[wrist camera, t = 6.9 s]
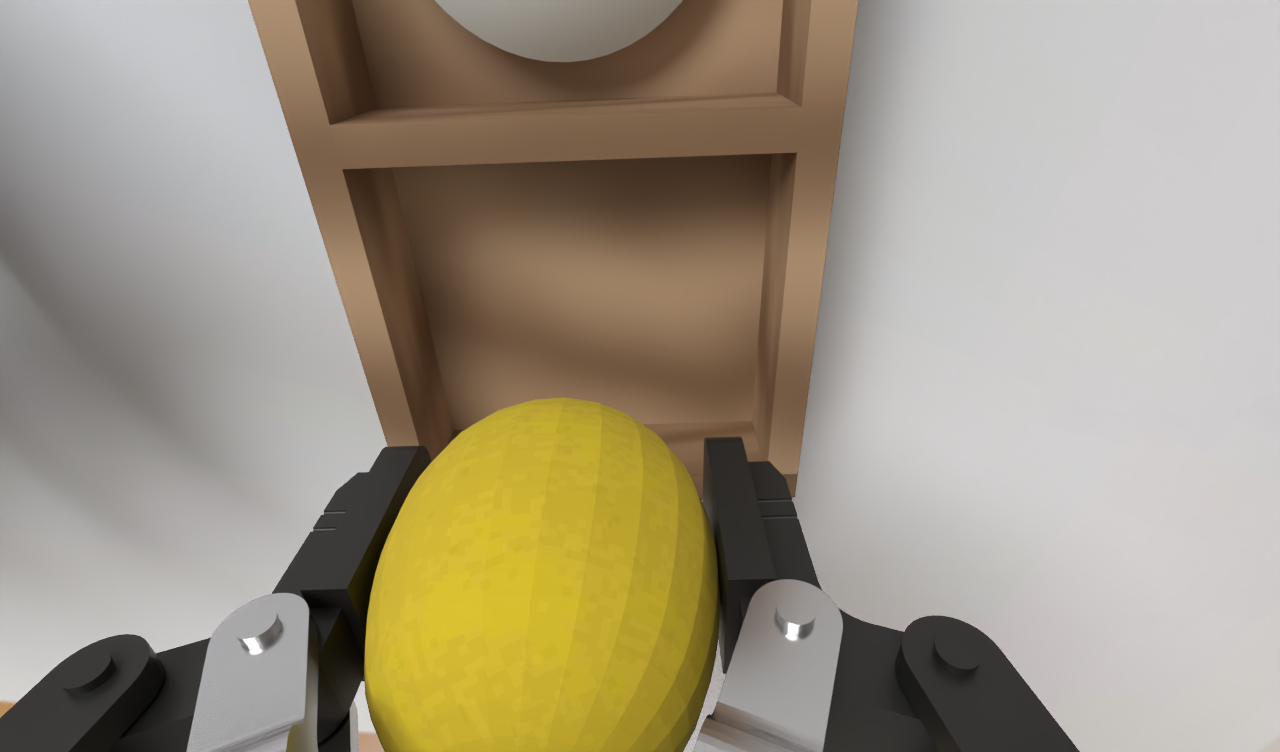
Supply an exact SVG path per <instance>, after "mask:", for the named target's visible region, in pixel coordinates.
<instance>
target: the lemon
mask: <svg viewBox="0 0 1280 752" xmlns="http://www.w3.org/2000/svg"><path fill="white" fill-rule="evenodd" d="M719 622H720V591H719V579H718V567H717V556H716V547H715V541H714V536H713V531H712V528H711V524H710V521H709V518H708V515H707V512H706V510H705V508H704V505H703V503H702V501H701V498H700V496H699V494H698V492H697V489H696V487H695V485H694V483H693V481H692V478H691V476H690V474H689V473H688V471H687V469H686V467H685V466H684V464H683V463H682V462H681V461H680V460H679V458H678V457H677V456H676V455H675V454H674V453H673V452H672V450H671V449H670V448H669V447H668V446H667V445H666V444H665V442H664V441H663V440H662V439H661V438H660V437H659V436H658V435H657V434H656V433H655V432H653V431H652V430H650V429H649V428H647V427H646V426H644V425H643V424H641V423H640V422H638V421H637V420H635V419H634V418H632V417H631V416H629V415H628V414H626V413H624V412H622V411H619V410H616V409H614V408H611V407H609V406H606V405H603V404H601V403H598V402H592V401H586V400H580V399H573V398H550V399H535V400H532V401H528V402H525V403H521V404H517V405H514V406H510V407H507V408H504V409H501V410H498V411H496V412H494V413H493V414H491V415H489V416H487V417H486V418H484V419H482V420H480V421H479V422H477V423H475V424H473V425H472V426H470V427H469V428H467V429H465V430H464V431H462V432H461V433H460V434H459V435H458V436H457V437H456V438H455V439H454V440H452V441H451V442H450V444H449V445H448V446H447V447H446V448H445V449H444V450H443V451H442V452H441V453H440V454H439V455H438V456H437V457H436V458H435V459H434V460H433V461H432V462H431V463H430V464H429V465H428V467H427V468H426V469H425V470H424V472H423V473H422V474H421V475H420V476H419V478H418V479H417V481H416V483H415V484H414V486H413V487H412V489H411V490H410V492H409V494H408V496H407V498H406V500H405V502H404V504H403V506H402V507H401V510H400V512H399V514H398V516H397V518H396V520H395V522H394V524H393V527H392V529H391V531H390V533H389V535H388V538H387V540H386V543H385V545H384V548H383V550H382V553H381V556H380V559H379V562H378V566H377V569H376V572H375V576H374V581H373V586H372V590H371V595H370V602H369V608H368V615H367V626H366V641H365V661H364V678H365V695H366V700H367V704H368V708H369V713H370V717H371V720H372V723H373V725H374V728H375V730H376V733H377V735H378V738H379V740H380V742H381V745H382V747H383V749H384V751H385V752H683V750H684V749H685V747H686V745H687V743H688V741H689V739H690V737H691V735H692V734H693V732H694V730H695V728H696V725H697V722H698V719H699V716H700V713H701V710H702V707H703V704H704V700H705V697H706V694H707V691H708V687H709V684H710V681H711V676H712V672H713V667H714V662H715V657H716V650H717V643H718V635H719Z"/></svg>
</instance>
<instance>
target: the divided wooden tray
mask: <svg viewBox="0 0 1280 752" xmlns="http://www.w3.org/2000/svg"><path fill="white" fill-rule="evenodd" d="M248 2H249V5H250V9H251V12H252V15H253V18H254V21H255V25H256V28H257V31H258V34H259V37H260V40H261V44H262V47H263V50H264V53H265V56H266V60H267V63H268V66H269V69H270V72H271V76H272V79H273V82H274V85H275V88H276V91H277V95H278V98H279V101H280V104H281V107H282V111H283V114H284V117H285V120H286V123H287V127H288V130H289V133H290V136H291V139H292V142H293V146H294V149H295V152H296V155H297V158H298V162H299V165H300V168H301V171H302V174H303V178H304V181H305V184H306V187H307V190H308V193H309V197H310V200H311V203H312V206H313V209H314V213H315V216H316V219H317V222H318V225H319V229H320V232H321V235H322V238H323V241H324V244H325V248H326V251H327V254H328V257H329V260H330V264H331V267H332V270H333V273H334V276H335V280H336V283H337V286H338V289H339V292H340V295H341V299H342V302H343V305H344V308H345V311H346V315H347V318H348V321H349V324H350V327H351V331H352V334H353V337H354V340H355V343H356V346H357V350H358V353H359V356H360V359H361V362H362V366H363V369H364V372H365V375H366V378H367V382H368V385H369V388H370V391H371V394H372V398H373V401H374V404H375V407H376V410H377V413H378V417H379V420H380V423H381V426H382V429H383V433H384V436H385V439H386V442H387V445H388V447H392V446H425V447H426V448H427V450H428V452H429V454H430V458H431V462H432V461H433V460H434V459H435V458H436V457H437V456H438V455H439V454H440V453H441V452H442V451H443V450H444V449H445V448H446V447H447V446H448V445H449V444H450V442H451V441H452V440H454V439H455V438H456V437H457V436H458V435H459V434H460V433H461V432H462V431H464V430H465V429H467V428H469V427H470V426H472V425H473V424H475V423H477V422H479V421H480V420H482V419H484V418H486V417H487V416H489V415H491V414H493V413H494V412H496V411H498V410H501V409H504V408H507V407H510V406H514V405H517V404H521V403H525V402H528V401H532V400H535V399H550V398H573V399H580V400H586V401H592V402H598V403H601V404H603V405H606V406H609V407H611V408H614V409H616V410H619V411H622V412H624V413H626V414H628V415H629V416H631V417H632V418H634V419H635V420H637V421H638V422H640V423H641V424H643V425H644V426H646V427H647V428H649V429H650V430H652V431H653V432H655V433H656V434H657V435H658V436H659V437H660V438H661V439H662V440H663V441H664V442H665V444H666V445H667V446H668V447H669V448H670V449H671V450H672V452H673V453H674V454H675V455H676V456H677V457H678V458H679V460H680V461H681V462H682V463H683V464H684V466H685V467H686V469H687V471H688V473H689V474H690V476H691V478H692V481H693V483H694V485H695V487H696V489H697V492H698V494H699V496H700V498H701V500H703V459H704V439H705V438H706V437H738V436H741V437H742V440H743V443H744V448H745V452H746V456H747V460H748V462H755V461H770V462H771V463H772V464H773V466H774V467H775V468H776V469H777V470H778V471H779V472H780V473H781V474H782V475H783V476H784V477H785V478H786V482H787V485H788V488H789V491H790V494H791V497H795V491H796V483H797V475H798V467H799V460H800V452H801V444H802V436H803V428H804V421H805V413H806V405H807V397H808V390H809V382H810V374H811V366H812V358H813V351H814V343H815V335H816V327H817V319H818V312H819V304H820V296H821V288H822V281H823V273H824V265H825V257H826V249H827V242H828V234H829V226H830V218H831V211H832V203H833V195H834V187H835V179H836V172H837V164H838V156H839V148H840V140H841V133H842V125H843V117H844V109H845V102H846V94H847V86H848V78H849V70H850V63H851V55H852V47H853V39H854V32H855V24H856V16H857V8H858V0H683V1H682V2H681V3H680V4H679V5H678V6H677V8H676V9H675V10H674V11H673V12H672V13H671V14H670V15H669V16H668V17H667V18H666V19H665V20H664V21H663V22H662V23H661V24H659V25H658V26H657V27H656V28H655V29H653V30H652V31H651V32H650V33H648V34H647V35H646V36H644V37H642V38H641V39H639V40H637V41H636V42H634V43H633V44H631V45H629V46H627V47H625V48H623V49H620V50H618V51H616V52H614V53H611V54H609V55H605V56H601V57H598V58H594V59H590V60H584V61H575V62H546V61H541V60H535V59H530V58H525V57H522V56H519V55H516V54H513V53H510V52H507V51H504V50H502V49H500V48H498V47H496V46H494V45H492V44H490V43H488V42H486V41H484V40H482V39H481V38H479V37H478V36H476V35H475V34H473V33H472V32H470V31H469V30H467V29H465V28H464V27H463V26H462V25H461V24H459V23H458V22H457V21H456V20H455V19H453V18H452V17H451V16H450V15H449V14H447V13H446V12H445V11H444V10H443V9H442V8H441V6H440V5H439V4H438V3H437V2H436V1H435V0H248Z"/></svg>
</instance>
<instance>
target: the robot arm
mask: <svg viewBox="0 0 1280 752" xmlns="http://www.w3.org/2000/svg"><path fill="white" fill-rule="evenodd" d="M430 463H431V458H430V454H429V452H428V450H427V448H426V447H425V446H392V447H385V448H384V449H382V451H381V452H380V454H379V456H378V457H377V459H376V461H375V463H374V464H373V466H372V468H371V469H370V471H369V472H365V473H357V474H356V475H355V476H354V477H352V478H351V479H350V480H349V481H348V482H346V483H345V484H344V485H343V486H342V487H340V488H339V489H338V490H337V491H336V493H335V494H334V496H333V497H332V499H331V500H330V502H329V504H328V505H327V507H326V508H325V510H324V515H321V516H320V518H319V519H318V521H317V523H316V524H315V526H314V527H313V529H314V530H313V532H310V534H309V535H308V537H307V538H306V540H305V542H304V543H303V545H302V546H301V548H300V550H299V551H298V553H297V554H296V556H295V558H294V559H293V561H292V562H291V564H290V565H289V567H288V569H287V570H286V572H285V573H284V575H283V577H282V578H281V580H280V581H279V583H278V584H277V586H276V588H275V589H274V591H273V592H272V594H270V595H266V596H263V597H260V598H257V599H255V600H253V601H251V602H249V603H247V604H245V605H243V606H242V607H240V608H238V609H237V610H236V611H234V612H233V613H232V614H230V615H229V616H228V617H227V618H226V619H225V620H224V621H223V622H222V623H221V624H220V625H219V626H218V628H217V629H216V631H215V632H214V633H213V635H212V637H211V638H208V639H205V640H202V641H198V642H195V643H191V644H188V645H184V646H181V647H177V648H174V649H170V650H167V651H163V652H160V653H156V654H155V652H154V651H153V649H152V648H151V647H150V645H149V644H148V643H147V641H146V640H145V639H144V638H142V637H140V636H137V635H129V634H126V635H117V636H112V637H108V638H105V639H102V640H99V641H97V642H95V643H92V644H90V645H88V646H86V647H84V648H82V649H80V650H79V651H77V652H76V653H74V654H72V655H71V656H69V657H68V658H67V659H65V660H64V661H62V662H61V663H60V664H59V665H58V666H56V667H55V668H54V669H53V670H52V671H51V672H50V673H48V674H47V675H46V676H45V677H44V678H43V679H42V680H41V681H40V682H39V683H38V684H37V685H35V686H34V687H33V688H32V689H31V690H30V691H29V692H28V693H27V694H26V695H25V696H24V697H23V698H21V699H20V700H19V701H18V702H17V703H16V704H15V705H14V706H13V707H12V708H11V709H10V710H9V711H7V712H6V713H5V714H4V715H3V716H2V717H1V718H0V752H359V740H358V713H357V708H356V705H355V703H354V701H353V700H354V697H355V695H356V692H357V690H358V688H359V685H360V683H361V681H365V678H364V661H365V641H366V626H367V615H368V608H369V602H370V595H371V590H372V586H373V581H374V576H375V572H376V569H377V566H378V562H379V559H380V556H381V553H382V550H383V548H384V545H385V543H386V540H387V538H388V535H389V533H390V531H391V529H392V527H393V524H394V522H395V520H396V518H397V516H398V514H399V512H400V510H401V507H402V506H403V504H404V502H405V500H406V498H407V496H408V494H409V492H410V490H411V489H412V487H413V486H414V484H415V483H416V481H417V479H418V478H419V476H420V475H421V474H422V473H423V472H424V470H425V469H426V468H427V467H428V465H429V464H430ZM703 505H704V508H705V510H706V512H707V515H708V518H709V521H710V524H711V528H712V531H713V536H714V541H715V547H716V556H717V567H718V579H719V591H720V622H719V635H718V637H719V645H720V653H721V661H722V669H723V674H726V677H725V680H724V683H723V686H722V689H721V692H720V695H719V698H718V701H717V704H716V707H715V709H714V712H713V714H712V715H710V714H709V715H708V716H707V717H706V719H705V721H704V723H703V725H702V727H701V730H700V733H699V735H698V738H697V741H696V744H695V747H694V750H693V752H1080V751H1079V750H1078V749H1077V748H1076V746H1075V745H1074V744H1073V742H1072V741H1071V740H1070V739H1069V737H1068V736H1067V735H1066V733H1065V732H1064V731H1063V730H1062V728H1061V727H1060V726H1059V724H1058V723H1057V722H1056V721H1055V719H1054V718H1053V717H1052V715H1051V714H1050V713H1049V712H1048V710H1047V709H1046V708H1045V706H1044V705H1043V704H1042V703H1041V701H1040V700H1039V699H1038V697H1037V696H1036V695H1035V694H1034V692H1033V691H1032V690H1031V688H1030V687H1029V686H1028V685H1027V683H1026V682H1025V681H1024V679H1023V678H1022V677H1021V676H1020V674H1019V673H1018V672H1017V670H1016V669H1015V668H1014V667H1013V665H1012V664H1011V663H1010V661H1009V660H1008V659H1007V658H1006V656H1005V655H1004V654H1003V652H1002V651H1001V650H1000V649H999V647H998V646H997V645H996V644H995V643H994V642H993V641H992V640H991V639H990V638H989V637H988V636H987V635H985V634H984V633H983V632H981V631H980V630H978V629H977V628H975V627H973V626H972V625H970V624H968V623H965V622H963V621H961V620H958V619H954V618H951V617H946V616H926V617H922V618H919V619H917V620H915V621H913V622H912V623H911V624H910V625H909V626H908V627H907V628H906V630H905V632H902V631H898V630H894V629H890V628H886V627H882V626H878V625H874V624H870V623H867V622H864V621H861V620H859V619H856V618H854V617H852V616H850V615H848V614H847V613H845V612H843V611H842V610H841V609H839V608H838V607H837V605H836V604H835V602H834V601H833V600H832V599H831V598H830V597H829V596H828V595H827V594H826V593H825V592H823V591H822V589H821V587H820V585H819V582H818V580H817V577H816V573H815V570H814V567H813V564H812V561H811V558H810V554H809V551H808V548H807V545H806V542H805V539H804V535H803V532H802V529H801V526H800V523H799V520H798V519H797V513H796V510H795V507H794V504H793V502H792V497H791V494H790V491H789V488H788V485H787V482H786V478H785V477H784V476H783V475H782V474H781V473H780V472H779V471H778V470H777V469H776V468H775V467H774V466H773V464H772V463H771V462H770V461H755V462H748V460H747V456H746V452H745V448H744V443H743V440H742V437H741V436H738V437H706V438H705V439H704V459H703Z"/></svg>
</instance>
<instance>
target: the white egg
mask: <svg viewBox="0 0 1280 752" xmlns="http://www.w3.org/2000/svg"><path fill="white" fill-rule="evenodd" d="M435 1H436V2H437V3H438V4H439V5H440V6H441V8H442V9H443V10H444V11H445V12H446V13H447V14H449V15H450V16H451V17H452V18H453V19H455V20H456V21H457V22H458V23H459V24H461V25H462V26H463V27H464V28H465V29H467V30H469V31H470V32H472V33H473V34H475V35H476V36H478V37H479V38H481V39H482V40H484V41H486V42H488V43H490V44H492V45H494V46H496V47H498V48H500V49H502V50H504V51H507V52H510V53H513V54H516V55H519V56H522V57H525V58H530V59H535V60H541V61H546V62H575V61H584V60H590V59H594V58H598V57H601V56H605V55H609V54H611V53H614V52H616V51H618V50H620V49H623V48H625V47H627V46H629V45H631V44H633V43H634V42H636V41H637V40H639V39H641V38H642V37H644V36H646V35H647V34H648V33H650V32H651V31H652V30H653V29H655V28H656V27H657V26H658V25H659V24H661V23H662V22H663V21H664V20H665V19H666V18H667V17H668V16H669V15H670V14H671V13H672V12H673V11H674V10H675V9H676V8H677V6H678V5H679V4H680V3H681V2H682V1H683V0H435Z"/></svg>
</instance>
